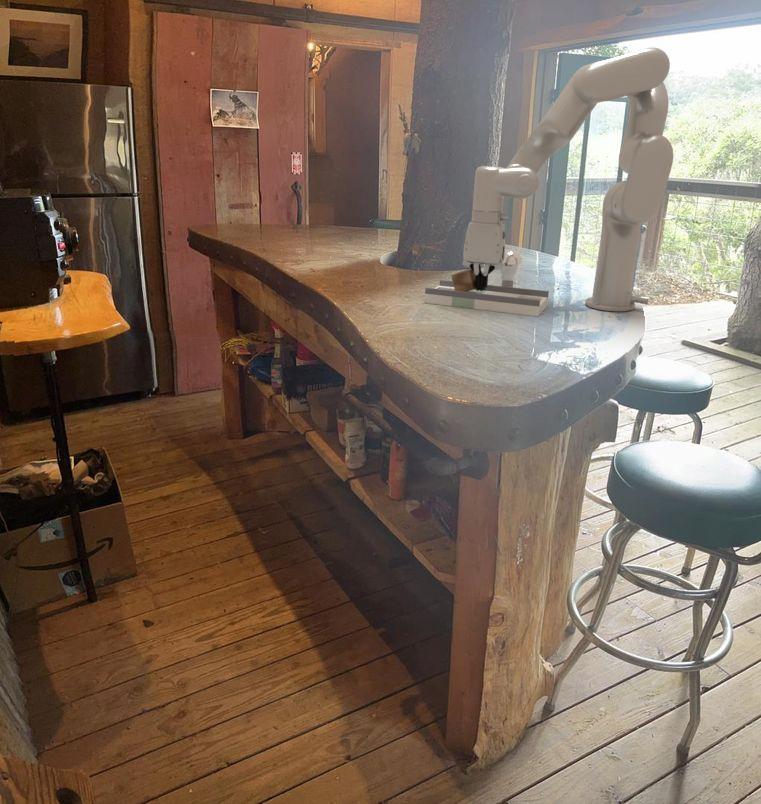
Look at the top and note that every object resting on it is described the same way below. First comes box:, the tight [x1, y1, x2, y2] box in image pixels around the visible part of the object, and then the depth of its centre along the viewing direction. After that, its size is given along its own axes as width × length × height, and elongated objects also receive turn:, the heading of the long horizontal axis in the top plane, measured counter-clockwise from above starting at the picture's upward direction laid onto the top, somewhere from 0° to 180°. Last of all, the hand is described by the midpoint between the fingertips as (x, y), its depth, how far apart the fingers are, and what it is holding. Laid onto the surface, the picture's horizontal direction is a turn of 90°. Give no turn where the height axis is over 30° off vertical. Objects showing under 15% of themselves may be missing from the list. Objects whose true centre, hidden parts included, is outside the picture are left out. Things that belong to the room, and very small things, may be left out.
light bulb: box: [498, 248, 523, 288], centre depth 186 cm, size 7×7×12 cm
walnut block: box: [451, 268, 476, 292], centre depth 172 cm, size 5×5×5 cm
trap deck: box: [424, 279, 550, 317], centre depth 171 cm, size 30×12×4 cm, turn 66°
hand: (480, 289), depth 171 cm, fingers closed
